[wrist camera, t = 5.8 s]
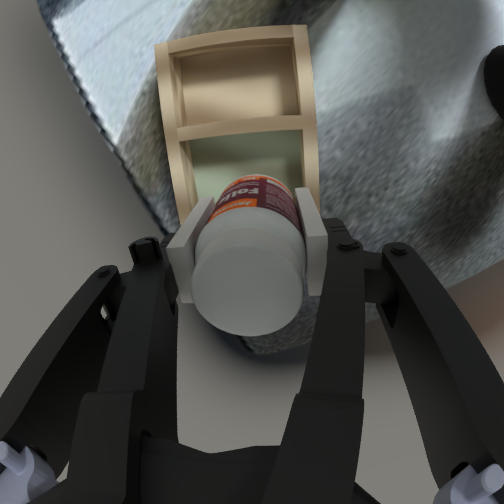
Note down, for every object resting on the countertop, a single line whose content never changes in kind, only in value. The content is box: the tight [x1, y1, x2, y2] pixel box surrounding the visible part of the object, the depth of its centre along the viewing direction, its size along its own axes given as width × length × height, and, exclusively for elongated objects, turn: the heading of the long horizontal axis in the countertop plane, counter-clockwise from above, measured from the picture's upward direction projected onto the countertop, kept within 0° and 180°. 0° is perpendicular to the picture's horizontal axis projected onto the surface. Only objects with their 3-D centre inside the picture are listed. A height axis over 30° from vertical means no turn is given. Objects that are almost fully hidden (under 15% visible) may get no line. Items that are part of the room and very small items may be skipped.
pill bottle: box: [191, 174, 307, 336], centre depth 14 cm, size 5×5×8 cm
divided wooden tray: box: [154, 25, 320, 225], centre depth 24 cm, size 18×13×4 cm
